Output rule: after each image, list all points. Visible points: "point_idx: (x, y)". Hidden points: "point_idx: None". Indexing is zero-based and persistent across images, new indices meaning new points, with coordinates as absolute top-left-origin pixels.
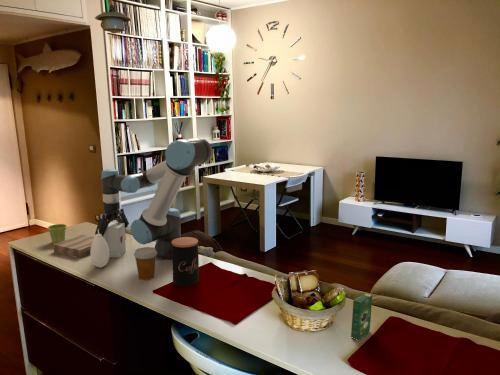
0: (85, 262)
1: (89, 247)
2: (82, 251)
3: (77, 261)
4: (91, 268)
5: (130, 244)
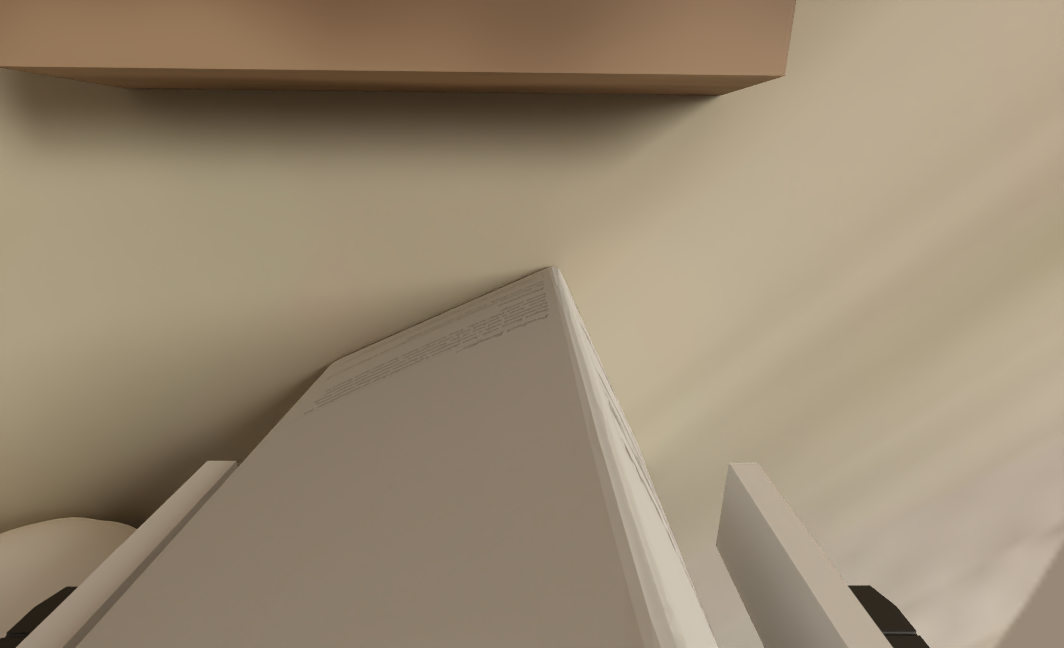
0: (82, 296)
1: (266, 74)
2: (102, 73)
3: (22, 162)
4: (31, 494)
5: (915, 339)
